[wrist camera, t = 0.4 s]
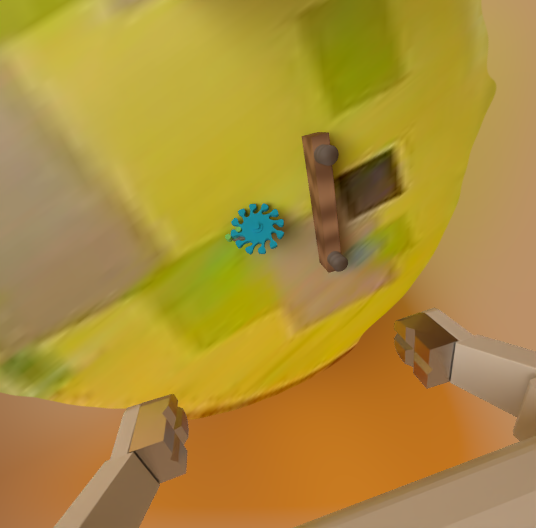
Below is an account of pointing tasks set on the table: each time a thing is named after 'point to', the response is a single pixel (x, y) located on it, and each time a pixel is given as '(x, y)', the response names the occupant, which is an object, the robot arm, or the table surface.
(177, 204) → the table surface
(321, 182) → the stop bar
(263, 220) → the gear
